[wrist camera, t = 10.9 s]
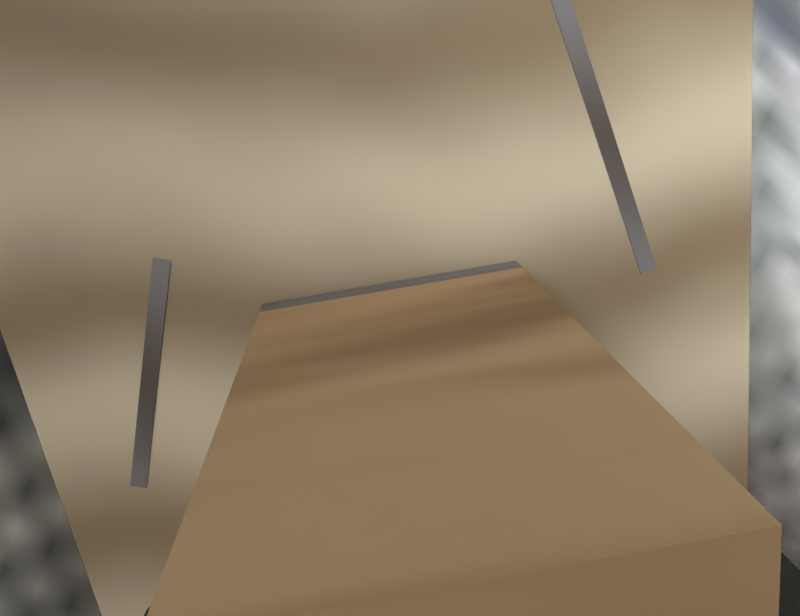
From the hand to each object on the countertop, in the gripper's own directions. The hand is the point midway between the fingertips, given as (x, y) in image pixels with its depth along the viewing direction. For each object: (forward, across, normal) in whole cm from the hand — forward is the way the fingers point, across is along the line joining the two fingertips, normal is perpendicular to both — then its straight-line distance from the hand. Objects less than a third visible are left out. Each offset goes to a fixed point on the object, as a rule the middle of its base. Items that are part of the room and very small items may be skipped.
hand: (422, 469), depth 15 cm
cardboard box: (+2, 0, 0) cm, 2 cm away
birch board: (+3, 0, +3) cm, 5 cm away
